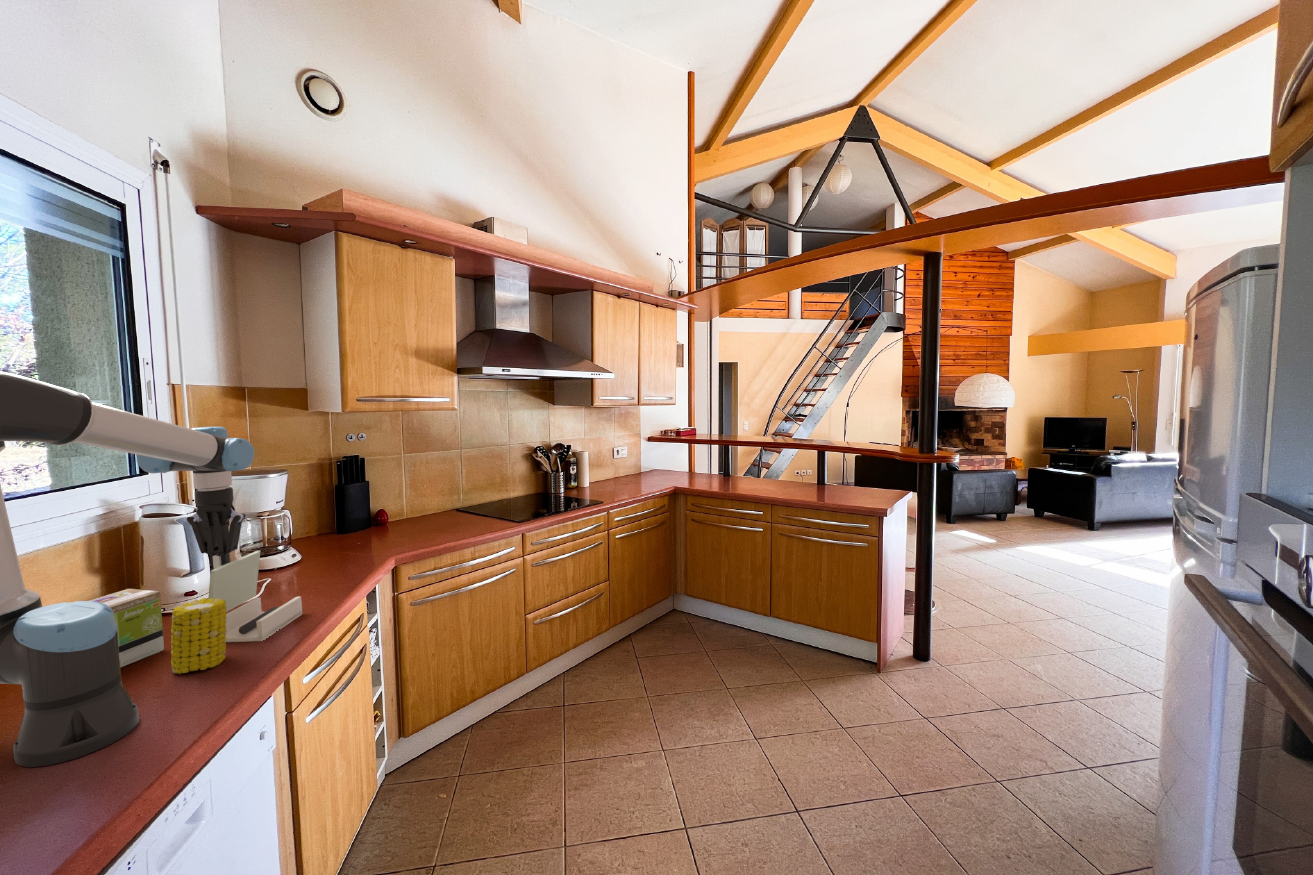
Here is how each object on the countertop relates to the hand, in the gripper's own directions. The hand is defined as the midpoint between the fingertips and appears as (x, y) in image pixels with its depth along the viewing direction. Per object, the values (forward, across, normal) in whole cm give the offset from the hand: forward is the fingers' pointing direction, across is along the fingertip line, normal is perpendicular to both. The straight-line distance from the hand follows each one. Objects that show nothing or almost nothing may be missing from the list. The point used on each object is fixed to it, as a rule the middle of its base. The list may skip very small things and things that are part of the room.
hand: (221, 579), depth 140 cm
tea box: (+13, +13, +17) cm, 25 cm away
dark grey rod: (+12, -9, 0) cm, 15 cm away
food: (+13, -8, +19) cm, 25 cm away
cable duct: (+13, -8, 0) cm, 16 cm away
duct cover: (+1, -4, 0) cm, 4 cm away
